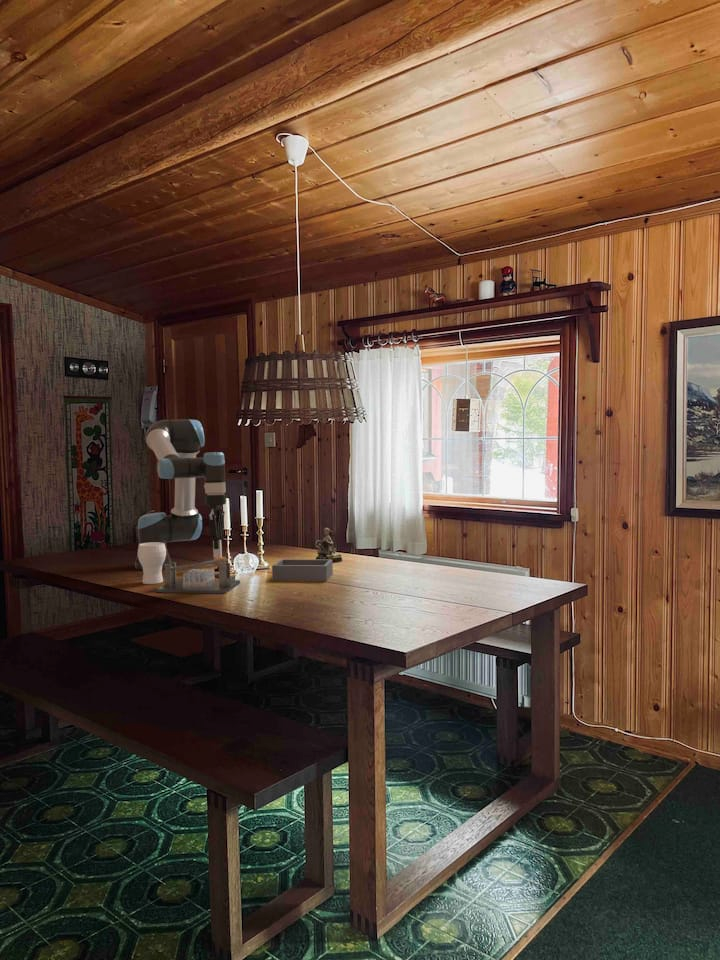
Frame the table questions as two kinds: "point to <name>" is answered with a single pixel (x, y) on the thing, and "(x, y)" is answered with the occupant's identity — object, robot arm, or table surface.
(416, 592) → the table surface
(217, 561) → the strap
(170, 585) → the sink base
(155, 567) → the cup
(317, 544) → the figurine
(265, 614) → the table surface
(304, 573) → the tray
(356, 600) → the table surface
